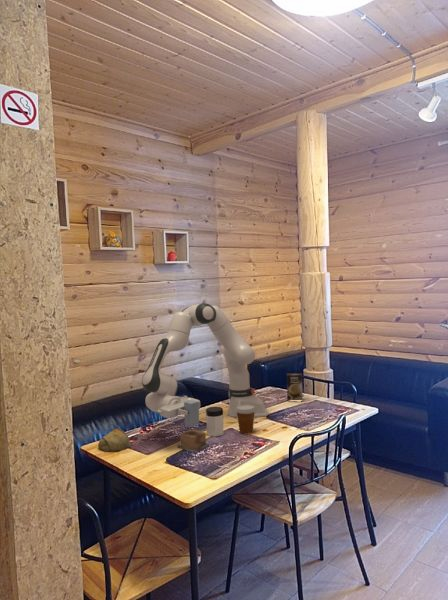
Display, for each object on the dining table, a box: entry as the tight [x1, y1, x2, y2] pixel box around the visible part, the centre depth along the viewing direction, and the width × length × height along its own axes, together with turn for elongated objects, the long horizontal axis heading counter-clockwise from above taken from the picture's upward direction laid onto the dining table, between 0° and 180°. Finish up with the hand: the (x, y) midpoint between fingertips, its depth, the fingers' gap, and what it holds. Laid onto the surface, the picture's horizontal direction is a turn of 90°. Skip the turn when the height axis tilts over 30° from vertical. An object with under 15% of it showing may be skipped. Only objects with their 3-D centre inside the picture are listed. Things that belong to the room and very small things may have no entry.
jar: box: [205, 406, 225, 438], centre depth 212 cm, size 9×8×12 cm
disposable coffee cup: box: [236, 405, 255, 435], centre depth 213 cm, size 10×10×12 cm
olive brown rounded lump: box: [97, 428, 132, 452], centre depth 199 cm, size 14×12×8 cm
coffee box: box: [286, 372, 304, 401], centre depth 264 cm, size 9×6×16 cm
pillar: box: [184, 400, 200, 427], centre depth 196 cm, size 4×4×10 cm
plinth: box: [176, 428, 210, 454], centre depth 196 cm, size 10×10×6 cm
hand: (192, 411), depth 195 cm, fingers closed on pillar, 4 cm apart
